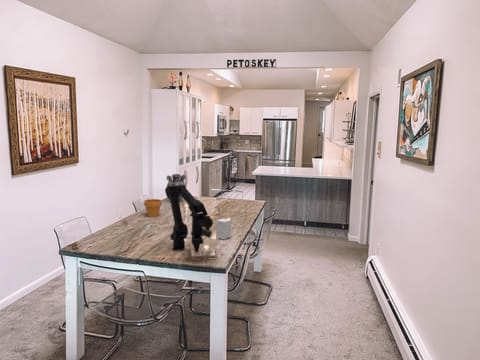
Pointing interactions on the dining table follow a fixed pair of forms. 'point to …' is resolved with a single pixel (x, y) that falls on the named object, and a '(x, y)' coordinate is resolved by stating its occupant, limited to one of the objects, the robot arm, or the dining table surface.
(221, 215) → the dining table surface
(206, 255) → the ticket board
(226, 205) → the dining table surface
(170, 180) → the decorative vase
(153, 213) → the flower pot
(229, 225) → the supplement box
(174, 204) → the robot arm
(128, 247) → the dining table surface
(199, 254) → the stub
